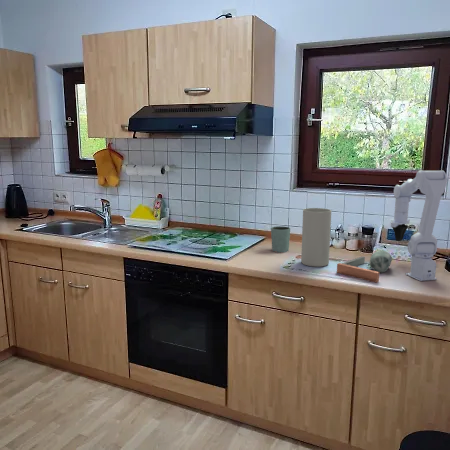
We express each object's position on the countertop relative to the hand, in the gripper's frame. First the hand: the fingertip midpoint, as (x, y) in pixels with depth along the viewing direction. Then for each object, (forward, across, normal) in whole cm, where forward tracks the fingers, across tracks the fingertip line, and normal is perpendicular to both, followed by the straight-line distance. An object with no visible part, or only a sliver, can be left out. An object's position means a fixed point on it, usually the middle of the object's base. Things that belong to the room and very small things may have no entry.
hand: (398, 240), depth 194 cm
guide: (+10, +24, -2) cm, 26 cm away
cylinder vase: (+11, +30, -25) cm, 41 cm away
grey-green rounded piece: (+11, +17, 0) cm, 20 cm away
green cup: (+11, +23, -52) cm, 58 cm away
